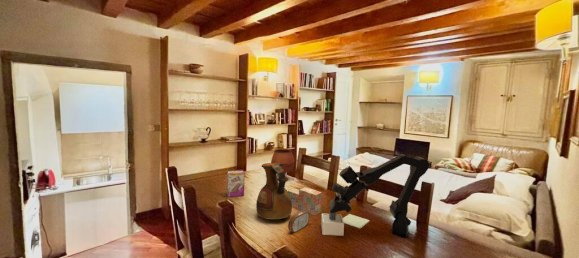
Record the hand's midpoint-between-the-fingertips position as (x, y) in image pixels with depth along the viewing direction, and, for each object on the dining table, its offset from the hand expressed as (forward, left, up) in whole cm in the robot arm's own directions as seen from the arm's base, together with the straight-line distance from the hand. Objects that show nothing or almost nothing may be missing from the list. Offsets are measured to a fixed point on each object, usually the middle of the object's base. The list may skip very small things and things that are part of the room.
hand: (329, 210), depth 127 cm
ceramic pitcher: (+31, +7, -10) cm, 33 cm away
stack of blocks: (+25, -13, -10) cm, 30 cm away
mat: (-5, -18, -10) cm, 21 cm away
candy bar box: (+72, +1, -10) cm, 73 cm away
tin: (+12, +9, -10) cm, 18 cm away
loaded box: (-1, -1, -10) cm, 10 cm away
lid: (-1, -1, -5) cm, 5 cm away
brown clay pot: (+73, -48, -10) cm, 88 cm away
